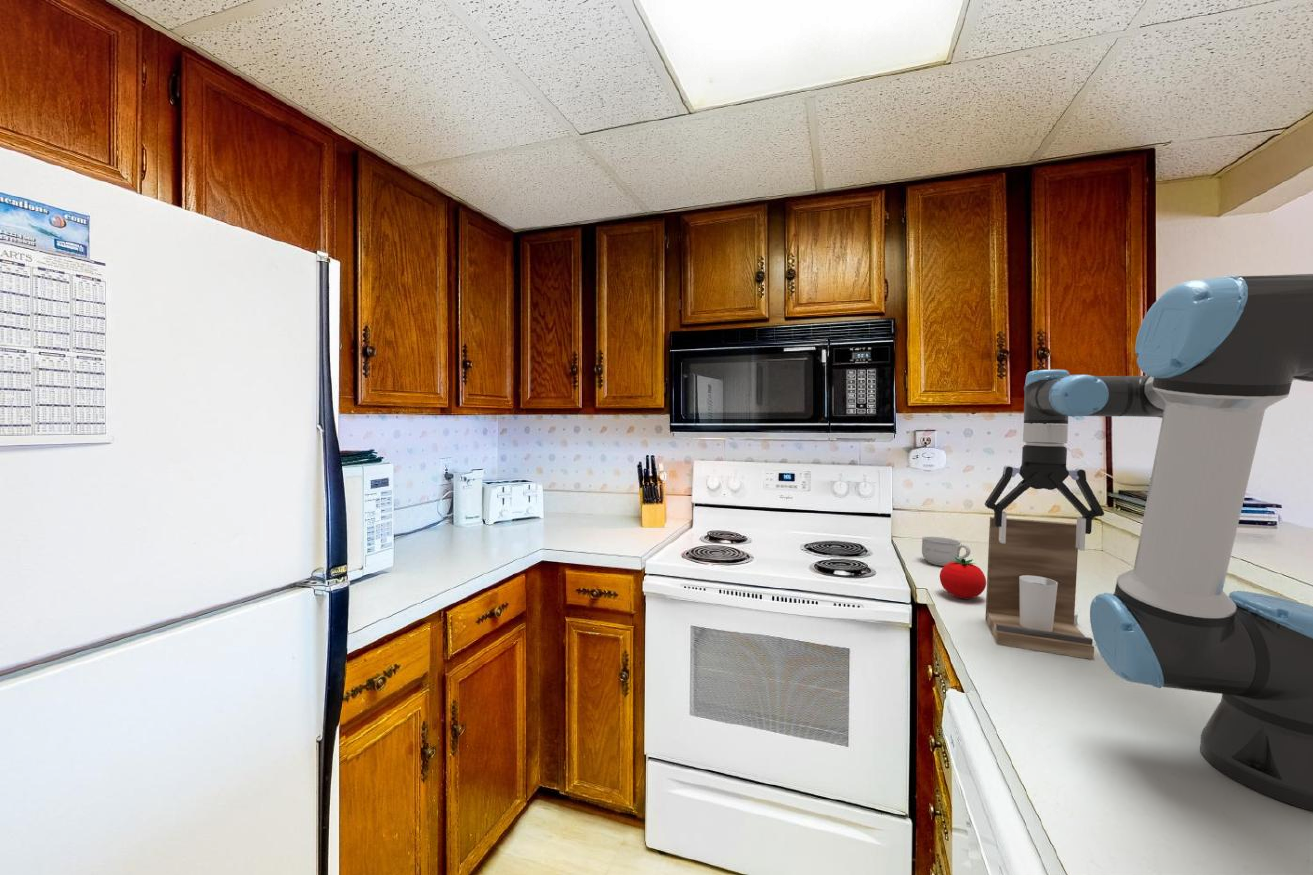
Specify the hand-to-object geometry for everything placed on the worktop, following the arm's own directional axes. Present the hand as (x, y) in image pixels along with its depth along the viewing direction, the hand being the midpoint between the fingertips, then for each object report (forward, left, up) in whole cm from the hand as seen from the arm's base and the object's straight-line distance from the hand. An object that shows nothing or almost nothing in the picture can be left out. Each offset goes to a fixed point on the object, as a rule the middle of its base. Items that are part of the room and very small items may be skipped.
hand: (1040, 545), depth 111 cm
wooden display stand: (0, 0, -20) cm, 20 cm away
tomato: (+22, +11, -20) cm, 32 cm away
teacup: (+53, +12, -20) cm, 58 cm away
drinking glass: (0, 0, -18) cm, 18 cm away
